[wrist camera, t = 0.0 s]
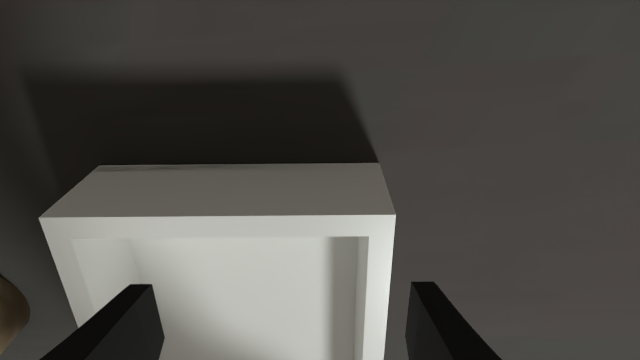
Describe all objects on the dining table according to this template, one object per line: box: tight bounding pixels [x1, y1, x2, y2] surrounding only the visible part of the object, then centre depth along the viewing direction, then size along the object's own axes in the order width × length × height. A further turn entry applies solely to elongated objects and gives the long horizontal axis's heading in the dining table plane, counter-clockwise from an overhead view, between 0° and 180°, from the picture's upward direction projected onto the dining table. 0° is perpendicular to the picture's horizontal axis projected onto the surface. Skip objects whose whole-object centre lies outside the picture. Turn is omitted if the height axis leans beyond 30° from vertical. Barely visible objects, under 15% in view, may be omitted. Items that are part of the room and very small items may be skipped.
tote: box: [39, 163, 396, 360], centre depth 22 cm, size 18×14×5 cm
